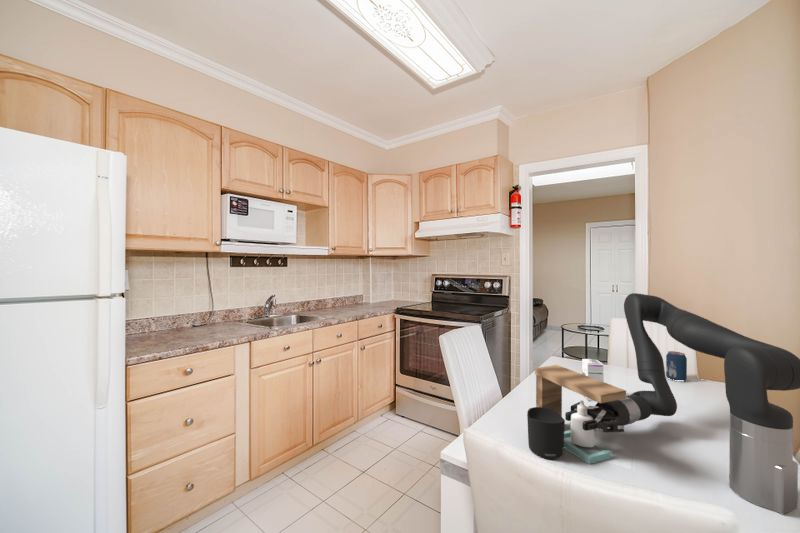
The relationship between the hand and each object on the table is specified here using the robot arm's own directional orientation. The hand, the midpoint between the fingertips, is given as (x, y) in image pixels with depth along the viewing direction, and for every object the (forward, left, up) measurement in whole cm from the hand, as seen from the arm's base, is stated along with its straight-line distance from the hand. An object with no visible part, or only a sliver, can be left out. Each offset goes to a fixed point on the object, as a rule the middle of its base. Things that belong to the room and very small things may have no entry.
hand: (575, 421), depth 87 cm
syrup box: (+23, -36, -8) cm, 43 cm away
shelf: (+2, -3, -8) cm, 9 cm away
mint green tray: (0, -3, -8) cm, 8 cm away
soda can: (+25, -90, -8) cm, 93 cm away
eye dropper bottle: (0, -3, -7) cm, 7 cm away
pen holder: (+2, +8, -8) cm, 12 cm away
